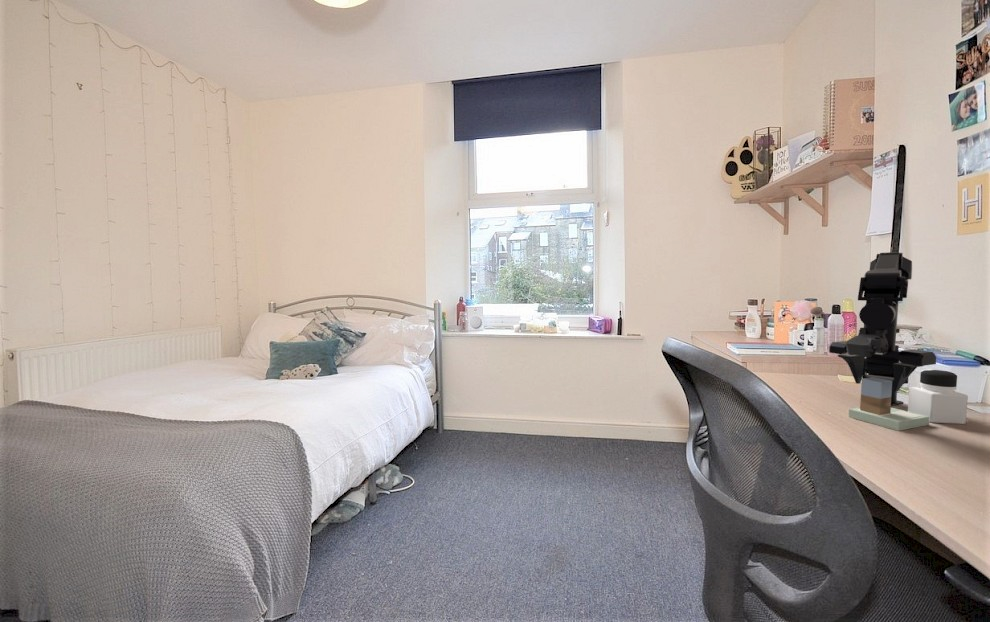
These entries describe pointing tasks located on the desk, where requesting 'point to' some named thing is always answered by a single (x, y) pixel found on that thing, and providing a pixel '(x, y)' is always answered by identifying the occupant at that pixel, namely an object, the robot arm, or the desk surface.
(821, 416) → the desk surface
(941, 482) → the desk surface
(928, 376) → the medicine bottle
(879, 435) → the desk surface
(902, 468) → the desk surface
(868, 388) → the slate block
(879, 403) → the walnut cube
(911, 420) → the baseplate
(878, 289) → the robot arm
